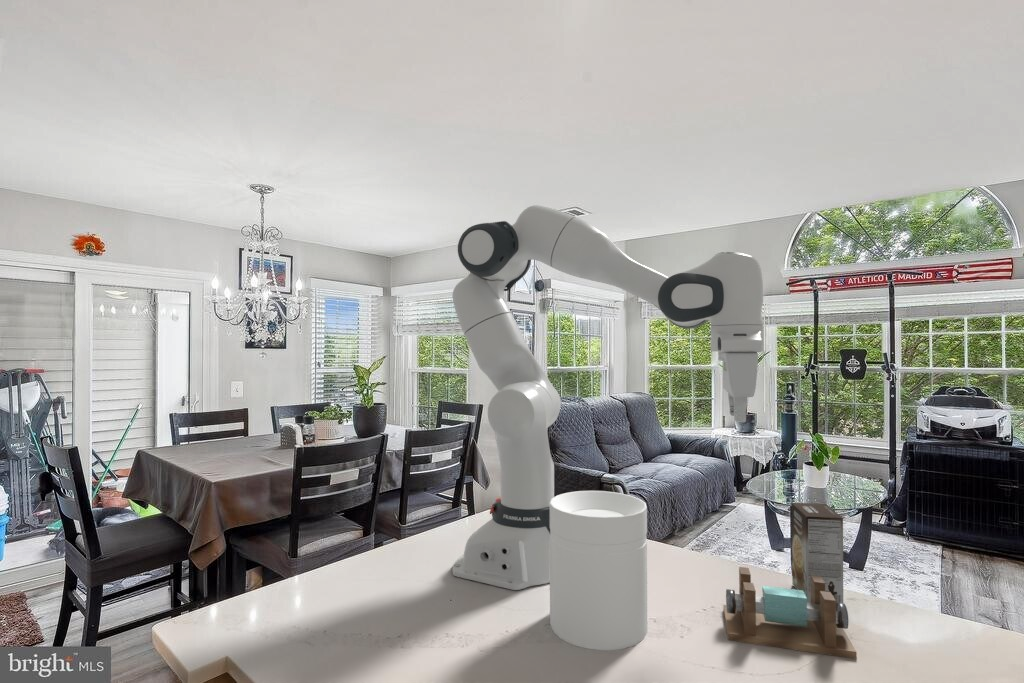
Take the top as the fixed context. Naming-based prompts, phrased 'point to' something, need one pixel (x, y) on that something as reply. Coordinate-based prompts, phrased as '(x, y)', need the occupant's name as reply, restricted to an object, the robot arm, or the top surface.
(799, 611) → the bar
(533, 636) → the top surface
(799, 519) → the coffee box
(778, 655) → the top surface
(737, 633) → the rack
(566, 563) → the canister
